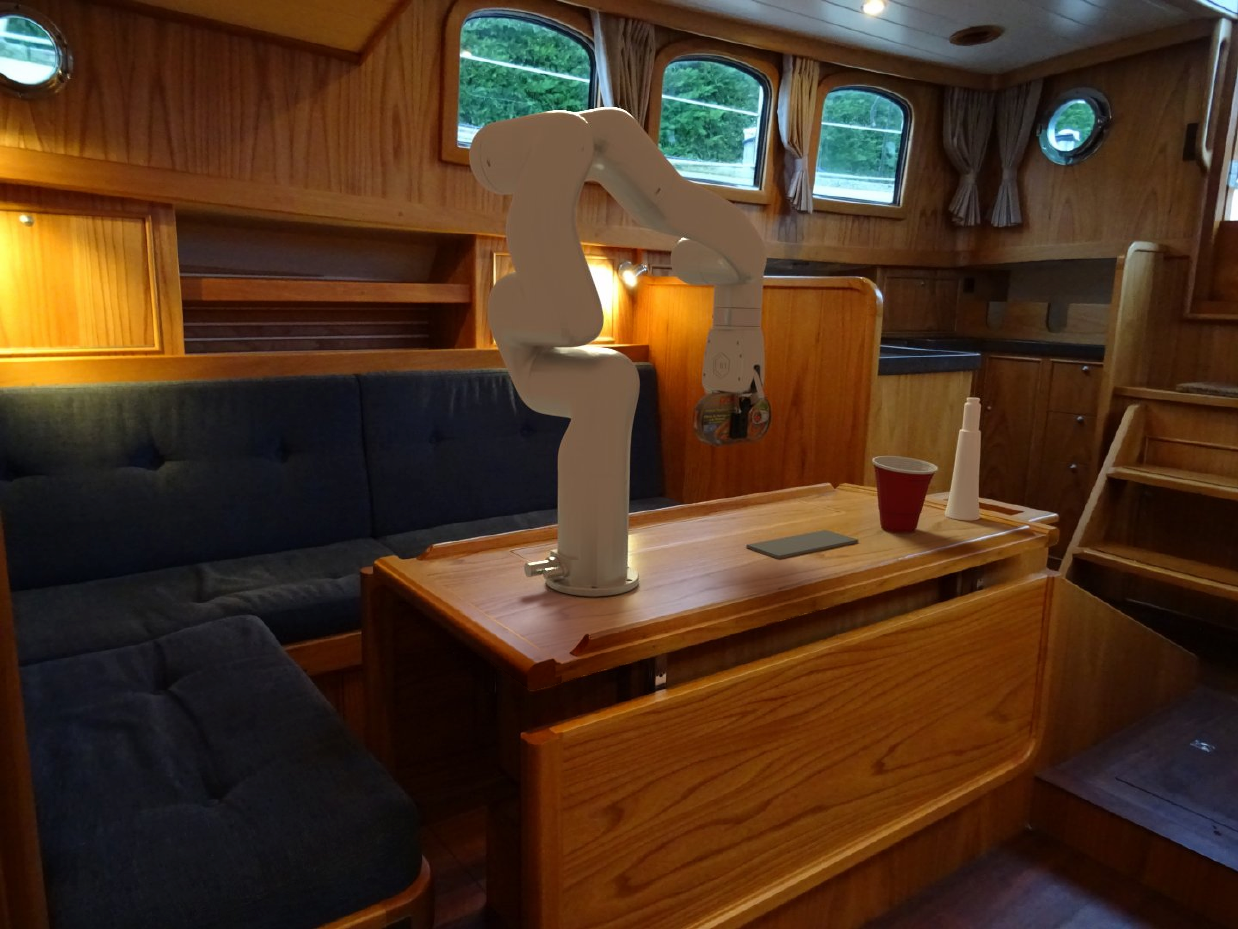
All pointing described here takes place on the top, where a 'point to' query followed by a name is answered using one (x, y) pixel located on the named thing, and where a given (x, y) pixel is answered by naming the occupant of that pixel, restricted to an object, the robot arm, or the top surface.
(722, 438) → the tin
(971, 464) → the cosmetic bottle
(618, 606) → the top surface
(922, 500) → the plastic cup
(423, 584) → the top surface
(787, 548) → the mat
